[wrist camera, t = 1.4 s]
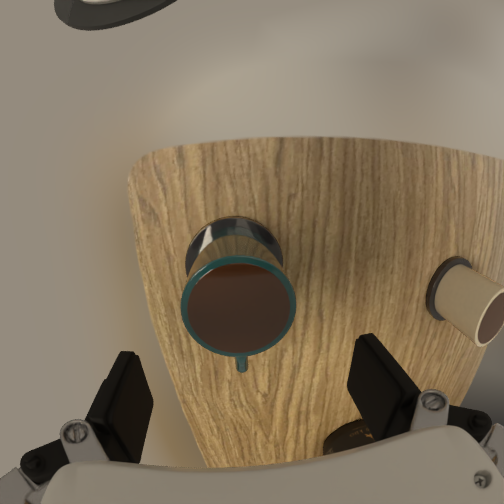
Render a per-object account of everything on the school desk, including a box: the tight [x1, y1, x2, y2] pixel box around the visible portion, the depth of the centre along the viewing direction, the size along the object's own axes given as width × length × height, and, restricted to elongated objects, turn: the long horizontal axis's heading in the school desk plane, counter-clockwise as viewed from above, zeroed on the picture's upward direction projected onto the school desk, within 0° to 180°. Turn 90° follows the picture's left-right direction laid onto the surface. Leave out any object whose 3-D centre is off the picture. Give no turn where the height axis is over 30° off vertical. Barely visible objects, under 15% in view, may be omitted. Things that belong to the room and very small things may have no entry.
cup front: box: [181, 227, 296, 373], centre depth 19 cm, size 9×7×8 cm
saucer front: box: [185, 216, 283, 278], centre depth 23 cm, size 8×8×1 cm
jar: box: [323, 420, 375, 456], centre depth 29 cm, size 10×10×8 cm
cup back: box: [434, 264, 504, 347], centre depth 23 cm, size 9×7×8 cm
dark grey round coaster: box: [426, 256, 472, 320], centre depth 26 cm, size 8×8×1 cm
